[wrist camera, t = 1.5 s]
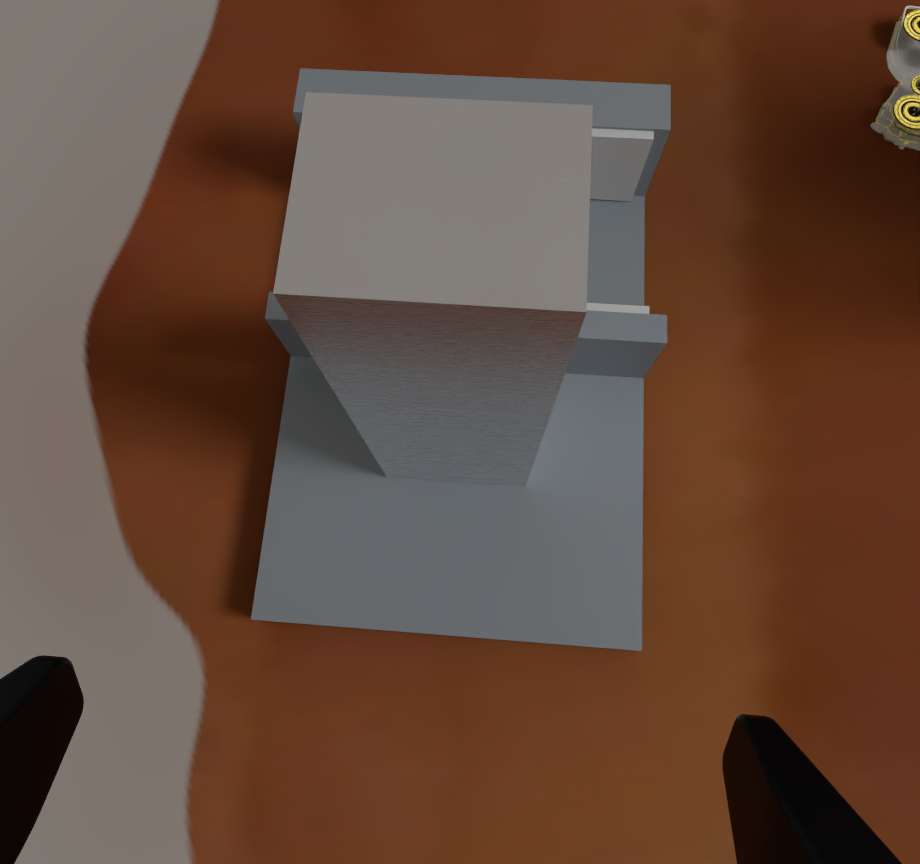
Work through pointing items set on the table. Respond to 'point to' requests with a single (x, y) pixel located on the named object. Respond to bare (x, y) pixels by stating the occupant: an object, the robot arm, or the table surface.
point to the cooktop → (903, 85)
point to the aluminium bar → (440, 272)
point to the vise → (479, 505)
